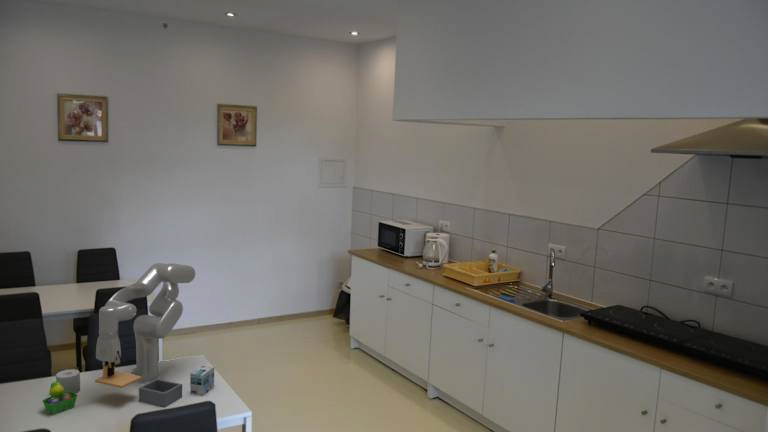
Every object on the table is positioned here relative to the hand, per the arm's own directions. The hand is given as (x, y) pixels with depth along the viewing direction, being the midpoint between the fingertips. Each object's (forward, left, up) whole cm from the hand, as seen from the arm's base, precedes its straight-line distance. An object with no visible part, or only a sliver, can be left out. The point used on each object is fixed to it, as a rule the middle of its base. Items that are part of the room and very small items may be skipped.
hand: (109, 374), depth 253 cm
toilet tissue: (-22, -1, -11) cm, 25 cm away
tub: (+22, +7, -11) cm, 25 cm away
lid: (+6, 0, -2) cm, 6 cm away
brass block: (+24, +9, -10) cm, 28 cm away
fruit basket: (-11, -16, -11) cm, 22 cm away
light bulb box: (+32, +22, -11) cm, 41 cm away
